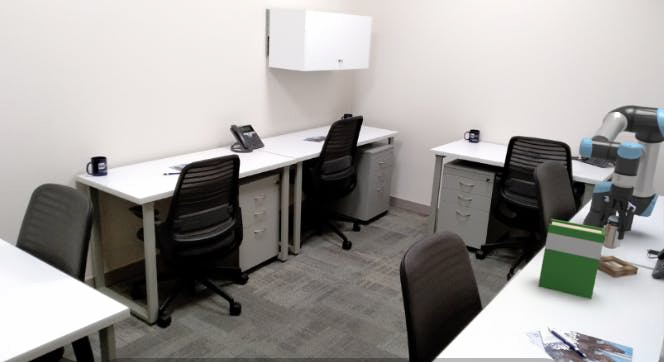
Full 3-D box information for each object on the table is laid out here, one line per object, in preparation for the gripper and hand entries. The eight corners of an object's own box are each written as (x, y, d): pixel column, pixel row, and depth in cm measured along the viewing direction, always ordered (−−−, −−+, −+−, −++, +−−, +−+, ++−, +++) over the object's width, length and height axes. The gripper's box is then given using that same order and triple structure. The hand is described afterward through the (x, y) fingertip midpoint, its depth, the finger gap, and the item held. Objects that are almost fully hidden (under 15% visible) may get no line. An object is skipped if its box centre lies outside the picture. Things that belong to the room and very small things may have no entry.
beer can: (605, 243, 202) (611, 214, 199) (618, 247, 199) (624, 217, 196) (600, 246, 199) (606, 216, 196) (614, 250, 196) (620, 220, 193)
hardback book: (538, 286, 192) (549, 224, 186) (540, 278, 198) (551, 218, 192) (591, 299, 185) (604, 235, 178) (591, 290, 191) (604, 228, 185)
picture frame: (611, 261, 218) (612, 255, 218) (636, 274, 208) (638, 267, 207) (589, 264, 214) (590, 258, 213) (614, 277, 203) (615, 271, 203)
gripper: (595, 178, 199) (584, 236, 205) (636, 192, 183) (623, 254, 190) (609, 177, 202) (598, 234, 208) (652, 191, 186) (638, 252, 192)
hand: (610, 243), depth 199 cm, fingers closed on beer can, 5 cm apart
